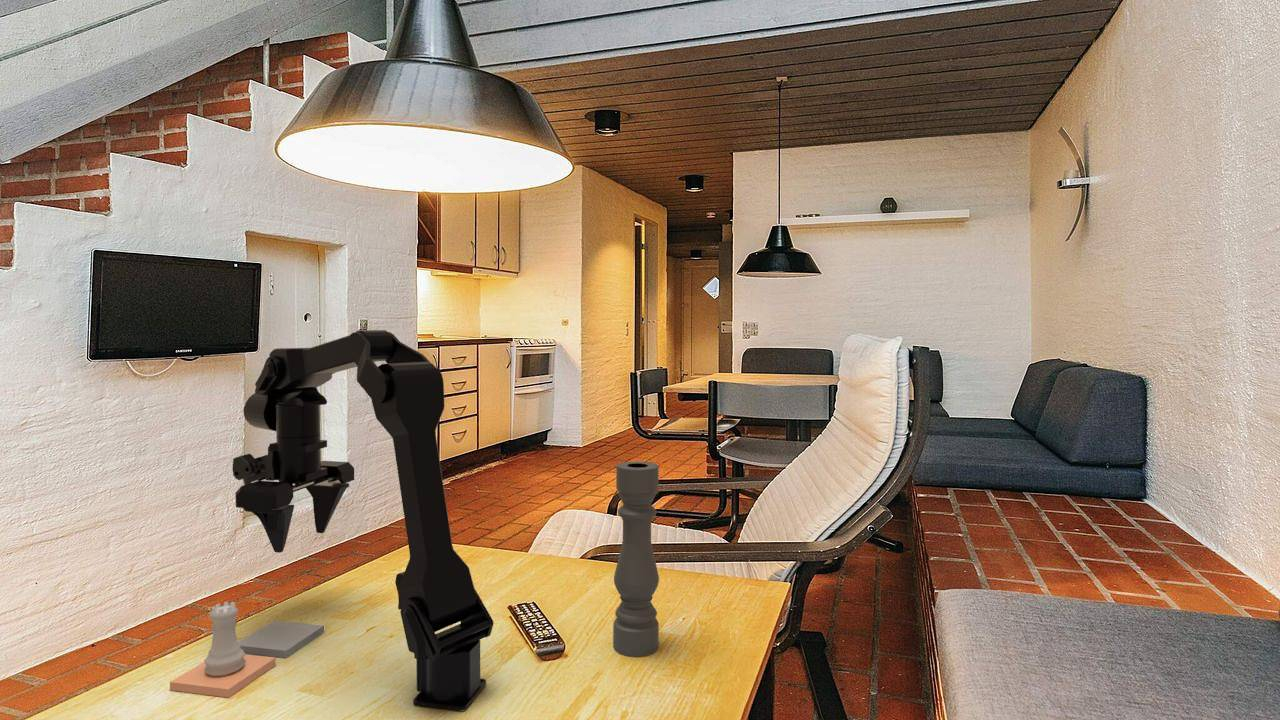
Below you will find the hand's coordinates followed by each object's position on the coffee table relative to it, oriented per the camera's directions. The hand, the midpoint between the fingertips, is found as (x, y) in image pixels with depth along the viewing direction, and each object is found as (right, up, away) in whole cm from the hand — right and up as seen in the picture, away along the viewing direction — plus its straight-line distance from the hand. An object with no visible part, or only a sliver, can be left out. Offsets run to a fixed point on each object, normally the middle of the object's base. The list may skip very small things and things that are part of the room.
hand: (300, 542), depth 104 cm
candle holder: (+49, -13, -6) cm, 51 cm away
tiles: (-1, -13, -10) cm, 16 cm away
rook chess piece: (-2, -12, -15) cm, 19 cm away
